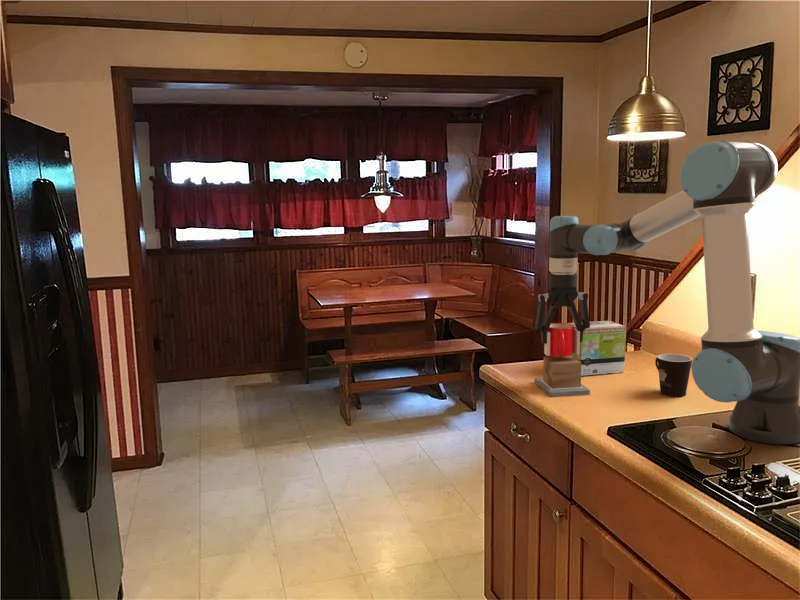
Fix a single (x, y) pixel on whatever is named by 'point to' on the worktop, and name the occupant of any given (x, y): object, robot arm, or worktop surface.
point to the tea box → (602, 348)
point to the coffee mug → (673, 374)
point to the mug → (561, 339)
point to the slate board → (562, 389)
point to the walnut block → (562, 372)
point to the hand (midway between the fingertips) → (561, 353)
